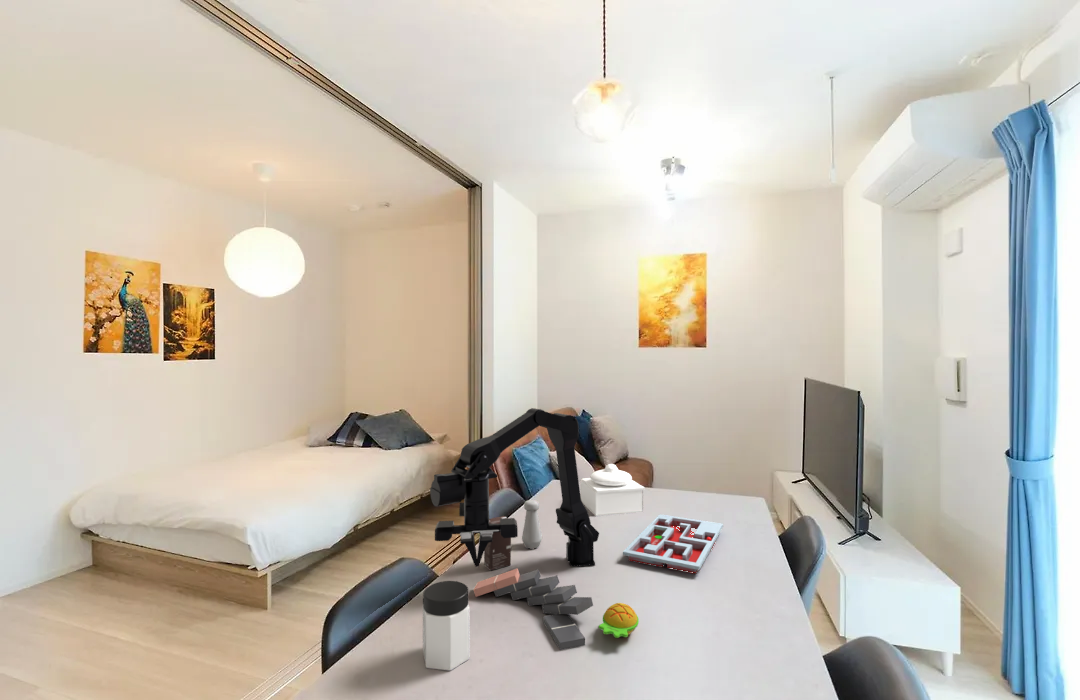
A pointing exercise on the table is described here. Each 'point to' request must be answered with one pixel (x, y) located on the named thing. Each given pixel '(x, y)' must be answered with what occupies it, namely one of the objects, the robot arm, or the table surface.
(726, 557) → the table surface
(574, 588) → the domino
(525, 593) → the domino
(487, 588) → the domino
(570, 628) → the domino
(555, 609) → the domino
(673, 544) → the maze game
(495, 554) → the box
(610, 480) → the butter dish
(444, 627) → the jar
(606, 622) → the toy burger bun
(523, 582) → the domino
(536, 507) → the salt shaker
